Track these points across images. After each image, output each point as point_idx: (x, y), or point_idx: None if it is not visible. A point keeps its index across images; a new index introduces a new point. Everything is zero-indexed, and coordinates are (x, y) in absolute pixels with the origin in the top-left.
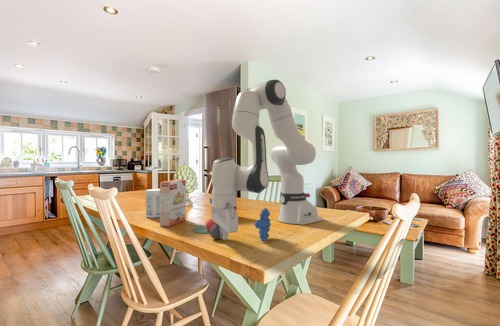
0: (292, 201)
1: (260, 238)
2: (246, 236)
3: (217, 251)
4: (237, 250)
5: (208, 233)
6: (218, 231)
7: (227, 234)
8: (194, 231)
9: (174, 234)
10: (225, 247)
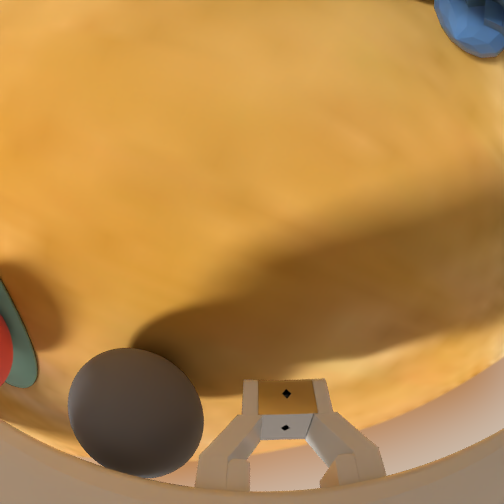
0: None
1: (466, 50)
2: (182, 71)
3: (394, 408)
4: (467, 318)
5: (34, 355)
6: (197, 444)
7: (337, 414)
8: (15, 385)
9: (61, 440)
10: (377, 371)
